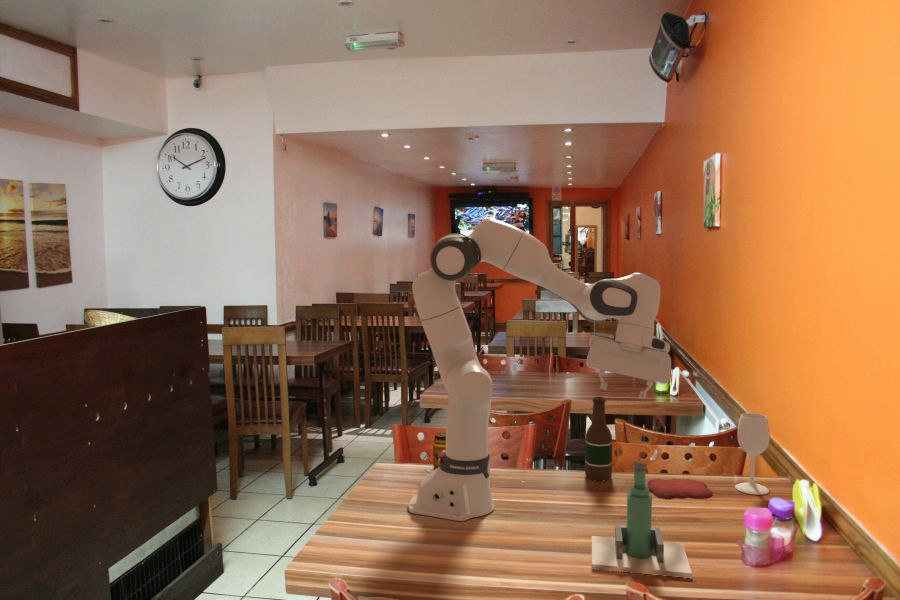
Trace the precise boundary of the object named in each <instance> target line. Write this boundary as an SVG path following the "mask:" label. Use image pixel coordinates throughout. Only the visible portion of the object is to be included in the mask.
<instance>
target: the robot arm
mask: <svg viewBox="0 0 900 600" xmlns="http://www.w3.org/2000/svg"><path fill="white" fill-rule="evenodd" d="M429 262H430V268H429V269H428V270H426V271H424V272H422V273H420V274H418V276H417V277H415V279H414V280H413V282H412V285H411V287H412V294H413V299H414V303H415V308H416V311H417V314H418V317H419V320H420V323H421V325H422V328H423V330H424V333H425V336H426V339H427V341H428V343H429V346H430V349H431V352H432V356H433V358H434V361H435V364H436V367H437V370H438V373H439V376H440V378H441V381H442V384H443V386H444V388H445V390H446V391H447V395H448V397H447V398H448V404H447V414H446V415H447V416H446V422H445V433H446V450H442V452H441V453H440V456H439V459H438V465H439V467H438V468H437V469H436V470H434V471H433V472H432V473H428V474H427V475H426V476H425V477H424V478H423V479H422V480H421V481H420V484H419V485H418V489H417V493H416V494H415V495H413V496H412V498H410V500H409V502H408V511H409V512H410V513H411V514H416V515H422V516H427V517H434V518H440V519H444V520H451V521H457V522H464V521H467V520H470V519H472V518H477V517H482V516H486V515H488V514H490V513H491V512H493V510H494V509H495V503H494V500H493V496H492V490H491V484H490V475H491V458H490V453H489V421H490V413H491V408H492V407H491V406H492V397H493V393H494V385H493V380H492V377H491V374H490V373H489V372H488V371H487V370H486V369H485V368H484V367H483V366H482V365H481V363H480V361H479V358H478V354H477V352H476V349H475V345H474V340H473V336H472V332H471V328H470V326H469V324H468V321H467V317H466V316H465V313H464V310H463V308H462V305H461V301H460V300H459V297H458V295H457V291H456V290H457V289H456V283H457V281H460V280H462V279H464V278H466V277H467V276H468V275H469V274H470V273H471V272H472V271H473V270H474V268H475V267H477V266H478V264H480V263H488V264H490V265H493V266H494V267H496V268H498V269H500V270H503V272H506V273H508V274H509V275H512V276H514V277H516V278H519V279H521V280H524V281H527V282H530V283H531V284H534V285H537V286H540V287H542V288H543V289H545V290H547V291H548V292H550V293H551V294H554V295H555V296H557V297H559V298H560V299H562V300H564V301H566V302H568V303H569V304H570V305H571V306H572V307H573V308H574V309H575V310H576V311H577V313H578V314H579V315H580V316H581V317H582V318H583V319H584V320H585V321H587V322H590V323H594V324H596V323H597V324H598V323H602V322H605V321H607V320H609V319H611V318H612V319H615V320H617V321H618V323H617V327H616V330H615V334H611V333H603V332H600V331H598V332H595V333H592V334H591V335H590V337H589V341H588V346H589V351H588V354H587V357H586V361H585V364H586V366H587V367H588V368H589V369H590V368H591V369H595V370H598V376H599V380H600V382H601V383H600V388H599V389H600V390H604V391H607V387H608V382H605V379H604V377H603V376H605V374H606V372H608V373H613V374H617V375H623V376H627V377H631V378H636V379H641V380H644V381H645V380H646V381H647V382H646V386H647V387H646V388H645V389H644V390H640V391H639V395H638V397H639V398H640V399H644V400H645V399H646V397H647V392H648V391H650V390H651V388H652V387H653V386H654V382H655V383H660V384H663V385H666V384H668V383H669V382H670V379H671V373H672V372H671V371H672V358H671V356H670V355H669V352H670V349H671V344H670V343H669V342H667V341H666V340H663V339H661V338H660V337H658V336H656V335H654V333H655V320H656V317H657V315H658V313H659V308H660V300H661V284H660V282H659V281H658V280H657V279H656V278H654V277H652V276H651V275H648V274H646V273H641V272H632V273H630V274H628V275H626V276H622V277H618V278H604V279H600V280H598V281H596V282H593V283H586V282H583V281H581V280H579V279H577V278H575V277H574V276H572V275H570V274H569V273H567V272H566V271H564V270H561V269H560V268H559V267H557V266H556V265H555V263H553V261H552V259H551V256H550V255H549V250H548V248H547V246H546V245H545V244H544V243H543V242H541V240H540V239H538V238H536V237H535V236H534V235H532V234H530V233H528V232H527V231H525V230H523V229H520V228H519V227H517V226H515V225H512V224H510V223H507V222H504V221H501V220H498V219H494V218H489V217H488V218H484V219H483V220H480V221H479V222H478V223H477V224H476V226H475V227H474V228H473V230H472V232H471V233H470V234H469V235H465V234H462V233H458V232H455V233H448V234H447V235H444V236H442V237H441V238H440V239H438V240H437V241H436V243H435V245H434V246H433V247H432V249H431V252H430V256H429Z"/></svg>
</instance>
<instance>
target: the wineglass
mask: <svg viewBox="0 0 900 600" xmlns="http://www.w3.org/2000/svg"><path fill="white" fill-rule="evenodd" d="M770 433H771V432H770V425H769V420H768V416H766V415H764V414H761V413H755V412H754V413H752V412H748V413H746V412H745V413H741V415H740V417H739V420H738V424H737V434H736V435H737V441H738V442H737V443H738V445H739V447H740V448H741V450H743V451H744V452H745V453H746V454H747V455H748V456H749V458H750V459H749V460H750V473H749V480H748V482H740V483H738V484H735V485H734V488H735V489H736V491H739V492H741V493H744V494H746V495H755V496H756V495H757V496H762V495H763V496H764V495H767V494H769V493H770V490H769V489H768V488H767V487H766V486H764V485H761V484H759V483H756V479H755V464H756V457H757V456H759V455H761V454H762V453H764V452H765V451H766V450H768V447H769V444H770V436H771V434H770Z"/></svg>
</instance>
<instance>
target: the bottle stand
mask: <svg viewBox="0 0 900 600" xmlns="http://www.w3.org/2000/svg"><path fill="white" fill-rule="evenodd" d="M614 526H615V527H614V530H615V531H614V532H615V533H614V537H611V536H610V537H609V536H599V535H591V570H592V571H601V570H602V572H612V571H614V573H623V572H632V573H631V574H634V573H643V574H642V575H644V574H657V575H666V576H679V577H683V578H682V579H687V578H690V579H689V580H692V579H693V573H692V569H691V566H690V563H689V560H688V556H687V553H686V550H685V546H684V544H683V542H674V541H673V542H671V541H670V542H669V541H663V536H662V531H661V528H660V527H651V556H650V557H649V558H645V559H638V558H634V557H631V556H629V555H628V554H627V553H626V528H627V525H623V524H615V525H614ZM593 569H594V570H593ZM615 571H617V572H615ZM618 571H619V572H618ZM666 576H665V577H666Z"/></svg>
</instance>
